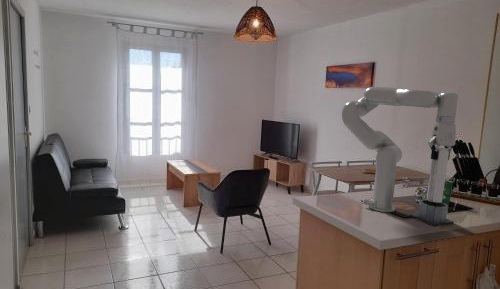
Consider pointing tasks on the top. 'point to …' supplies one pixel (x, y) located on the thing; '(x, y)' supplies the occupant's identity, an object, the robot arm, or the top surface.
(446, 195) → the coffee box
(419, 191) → the passion flower
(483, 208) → the top surface
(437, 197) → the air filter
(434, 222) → the collar
